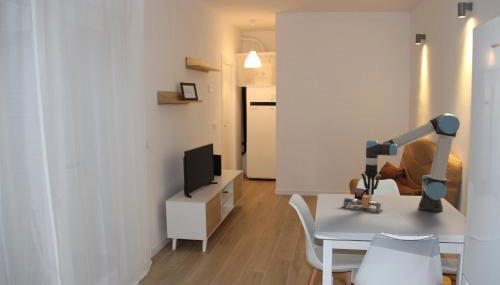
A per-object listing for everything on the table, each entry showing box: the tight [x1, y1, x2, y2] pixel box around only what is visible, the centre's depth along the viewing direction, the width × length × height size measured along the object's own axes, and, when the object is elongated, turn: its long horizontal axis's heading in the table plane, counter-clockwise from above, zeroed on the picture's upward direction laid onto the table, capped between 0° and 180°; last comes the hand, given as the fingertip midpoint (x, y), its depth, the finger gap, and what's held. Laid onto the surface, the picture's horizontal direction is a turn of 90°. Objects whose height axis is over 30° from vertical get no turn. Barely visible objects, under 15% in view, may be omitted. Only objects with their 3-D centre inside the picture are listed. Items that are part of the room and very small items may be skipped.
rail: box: [340, 197, 384, 215], centre depth 291 cm, size 26×8×6 cm, turn 55°
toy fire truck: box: [353, 187, 373, 202], centre depth 309 cm, size 7×12×10 cm, turn 63°
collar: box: [361, 195, 372, 208], centre depth 289 cm, size 4×6×7 cm
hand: (370, 199), depth 287 cm, fingers closed
